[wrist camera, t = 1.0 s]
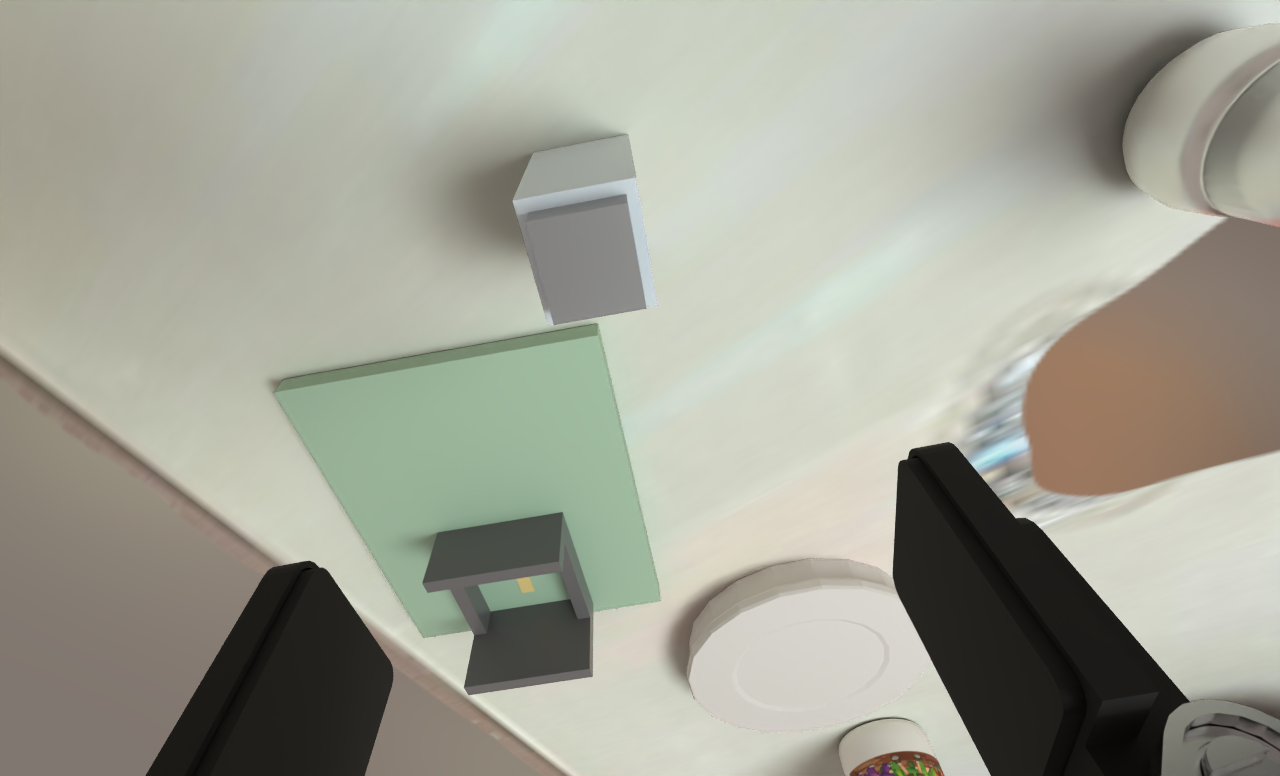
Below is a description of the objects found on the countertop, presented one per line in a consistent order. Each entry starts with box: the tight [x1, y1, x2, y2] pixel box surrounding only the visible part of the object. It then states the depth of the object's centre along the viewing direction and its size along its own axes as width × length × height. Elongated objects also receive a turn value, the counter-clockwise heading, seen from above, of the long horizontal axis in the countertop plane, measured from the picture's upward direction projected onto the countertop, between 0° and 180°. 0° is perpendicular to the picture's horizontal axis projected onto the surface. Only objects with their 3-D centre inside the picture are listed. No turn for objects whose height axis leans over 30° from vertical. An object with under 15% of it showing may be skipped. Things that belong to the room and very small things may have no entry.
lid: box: [686, 559, 931, 733], centre depth 44 cm, size 17×20×3 cm
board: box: [273, 324, 660, 638], centre depth 35 cm, size 20×16×1 cm
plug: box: [512, 134, 658, 325], centre depth 23 cm, size 5×4×8 cm
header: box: [422, 512, 593, 695], centre depth 35 cm, size 8×7×5 cm
